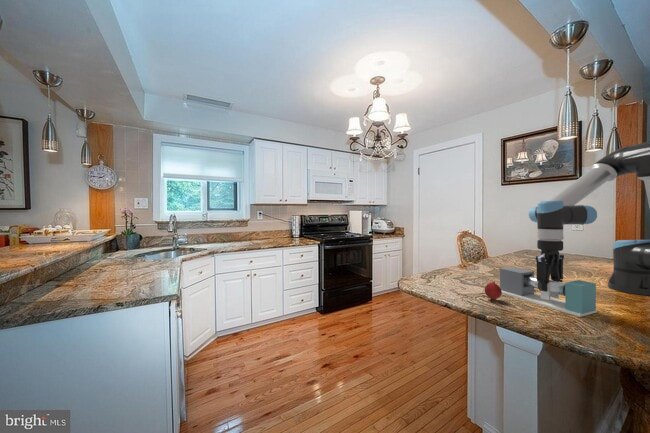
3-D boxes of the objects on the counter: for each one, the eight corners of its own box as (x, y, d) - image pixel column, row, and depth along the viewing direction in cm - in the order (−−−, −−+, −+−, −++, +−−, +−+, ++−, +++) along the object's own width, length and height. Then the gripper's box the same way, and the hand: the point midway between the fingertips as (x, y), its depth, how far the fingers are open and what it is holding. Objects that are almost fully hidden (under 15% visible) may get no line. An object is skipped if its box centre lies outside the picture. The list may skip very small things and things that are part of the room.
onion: (485, 301, 99) (485, 281, 98) (483, 296, 104) (483, 278, 104) (502, 303, 96) (502, 283, 96) (500, 298, 101) (500, 279, 101)
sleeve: (511, 287, 112) (511, 267, 112) (534, 293, 104) (534, 271, 104) (500, 289, 110) (499, 268, 110) (521, 296, 101) (521, 273, 101)
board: (514, 289, 113) (514, 287, 113) (597, 312, 87) (597, 309, 87) (497, 292, 109) (497, 290, 109) (579, 316, 83) (579, 314, 83)
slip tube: (510, 284, 107) (510, 272, 107) (518, 283, 109) (518, 271, 108) (564, 299, 89) (564, 284, 89) (573, 297, 91) (573, 282, 91)
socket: (579, 305, 90) (579, 279, 90) (595, 310, 86) (595, 283, 86) (565, 309, 88) (565, 282, 87) (581, 314, 83) (581, 286, 83)
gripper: (552, 237, 101) (552, 292, 102) (524, 239, 96) (524, 298, 96) (575, 239, 94) (575, 298, 95) (547, 242, 89) (547, 304, 89)
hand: (549, 298), depth 95 cm, fingers closed on slip tube, 5 cm apart
